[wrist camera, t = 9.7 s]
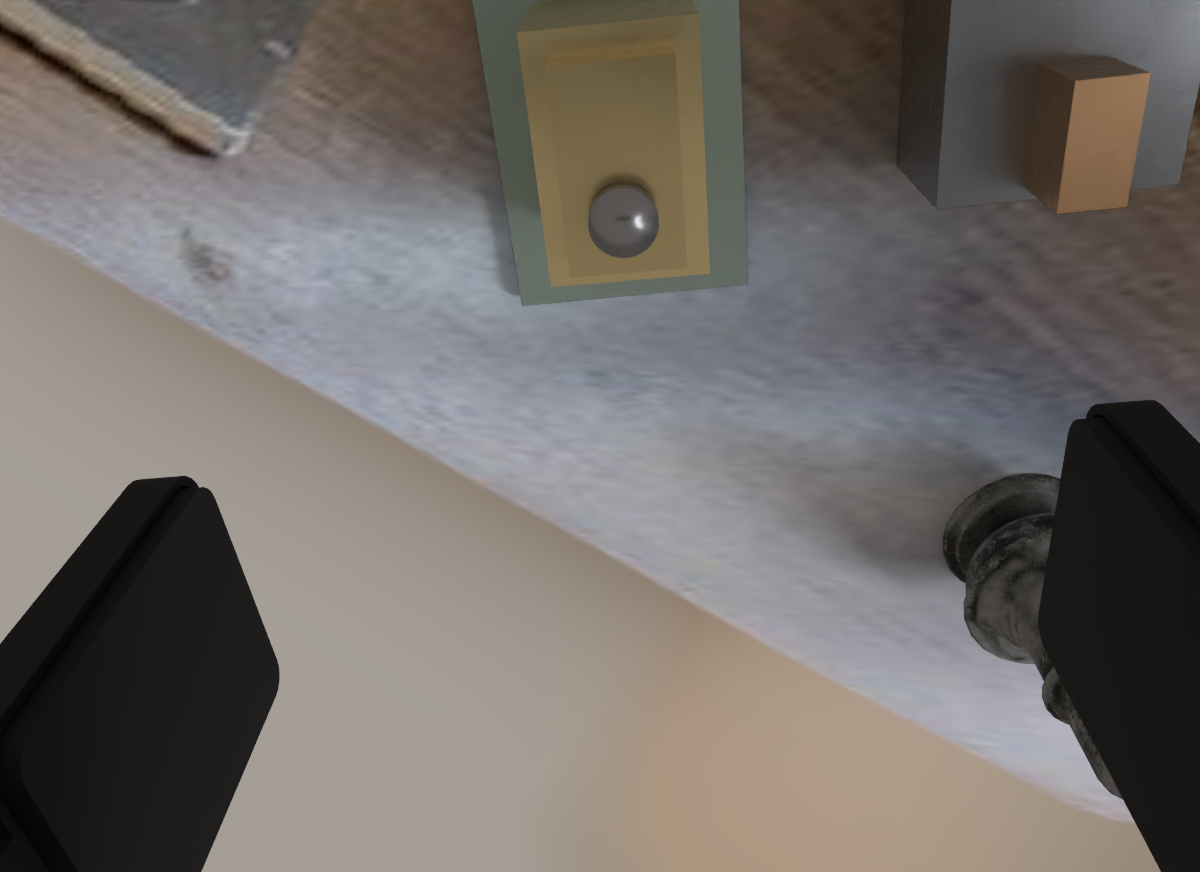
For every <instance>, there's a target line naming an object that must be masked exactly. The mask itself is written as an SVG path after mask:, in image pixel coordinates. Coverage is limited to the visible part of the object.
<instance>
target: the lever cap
mask: <svg viewBox="0 0 1200 872" xmlns="http://www.w3.org/2000/svg"><path fill="white" fill-rule="evenodd" d="M517 38H518V46H519V53H520V61H521V68H522V75H523V83H524V90H525V98H526V105H527V113H528V120H529V128H530V135H531V143H532V150H533V158H534V165H535V173H536V180H537V188H538V195H539V202H540V210H541V217H542V225H543V232H544V240H545V247H546V255H547V262H548V270H549V277H550V285H551V287H561V286H573V285H585V284H596V283H608V282H619V281H631V280H642V279H654V278H665V277H677V276H689V275H700V274H710V261H709V237H708V213H707V189H706V165H705V140H704V116H703V92H702V68H701V44H700V20H699V12H698V10H697V8H696V7H695V5H694V3H693V1H692V0H560V1H551V2H541V3H534V4H533V6H532V8H531V9H530V11H529V13H528V14H527V16H526V18H525V19H524V21H523V23H522V25H521V26H520V28H519V30H518V31H517Z"/></svg>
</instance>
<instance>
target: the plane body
mask: <svg viewBox="0 0 1200 872" xmlns="http://www.w3.org/2000/svg"><path fill="white" fill-rule="evenodd" d="M1199 84H1200V0H906V4H905V23H904V43H903V62H902V82H901V101H900V121H899V140H898V160H897V166H898V168H899V169H900V170H901V171H902V172H903V173H904V174H905V175H906V176H907V177H908V179H909V180H910V181H911V182H912V183H913V184H914V185H915V186H916V187H917V188H918V190H919V191H920V192H921V193H922V194H923V195H924V196H925V197H926V198H927V199H928V201H929V202H930V203H931V204H932V205H933V206H934V207H935V208H936V209H942V208H952V207H962V206H972V205H982V204H992V203H1002V202H1012V201H1022V200H1032V199H1039V200H1040V201H1041V202H1043V203H1044V204H1045V205H1046V206H1048V207H1049V208H1050V209H1051V210H1053V211H1054V212H1055V213H1056V214H1060V213H1070V212H1080V211H1091V210H1101V209H1111V208H1121V207H1127V204H1128V198H1129V192H1130V190H1133V189H1143V188H1153V187H1163V186H1173V185H1179V181H1180V176H1181V172H1182V167H1183V162H1184V157H1185V152H1186V147H1187V142H1188V138H1189V133H1190V128H1191V123H1192V118H1193V113H1194V108H1195V103H1196V99H1197V94H1198V89H1199Z"/></svg>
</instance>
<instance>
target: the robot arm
mask: <svg viewBox="0 0 1200 872" xmlns="http://www.w3.org/2000/svg"><path fill="white" fill-rule="evenodd" d="M1038 628H1039V634H1040V638H1041V642H1042V645H1043V647H1044V649H1045V651H1046V653H1047V655H1048V657H1049V659H1050V661H1051V663H1052V665H1053V667H1054V669H1055V670H1056V672H1057V674H1058V676H1059V678H1060V680H1061V682H1062V684H1063V686H1064V688H1065V690H1066V691H1067V693H1068V695H1069V697H1070V699H1071V701H1072V703H1073V705H1074V707H1075V709H1076V710H1077V712H1078V714H1079V716H1080V718H1081V720H1082V722H1083V724H1084V726H1085V728H1086V730H1087V731H1088V733H1089V735H1090V737H1091V739H1092V741H1093V743H1094V745H1095V747H1096V749H1097V750H1098V752H1099V754H1100V756H1101V758H1102V760H1103V762H1104V764H1105V766H1106V768H1107V770H1108V771H1109V773H1110V775H1111V777H1112V779H1113V781H1114V783H1115V785H1116V787H1117V789H1118V790H1119V792H1120V794H1121V796H1122V798H1123V800H1124V802H1125V804H1126V806H1127V808H1128V809H1129V811H1130V813H1131V815H1132V817H1133V819H1134V821H1135V823H1136V825H1137V827H1138V829H1139V830H1140V832H1141V834H1142V836H1143V838H1144V840H1145V842H1146V844H1147V845H1148V848H1149V849H1150V851H1151V853H1152V855H1153V857H1154V859H1155V861H1156V863H1157V864H1158V867H1159V868H1160V870H1161V872H1200V443H1199V442H1198V441H1197V440H1196V439H1195V438H1194V437H1193V436H1192V435H1191V434H1190V433H1189V432H1188V431H1187V430H1186V429H1185V428H1184V427H1183V426H1182V425H1181V424H1180V423H1179V422H1178V421H1177V420H1176V419H1175V418H1174V417H1173V416H1172V415H1171V414H1170V413H1169V412H1168V411H1167V410H1166V409H1165V408H1164V407H1163V406H1162V405H1161V404H1160V403H1158V402H1157V401H1155V400H1143V401H1130V402H1118V403H1105V404H1095V405H1094V406H1092V407H1091V408H1090V410H1089V411H1088V413H1087V415H1086V419H1077V420H1075V421H1073V423H1072V424H1071V426H1070V429H1069V433H1068V438H1067V444H1066V450H1065V456H1064V462H1063V468H1062V474H1061V480H1060V486H1059V492H1058V498H1057V504H1056V510H1055V516H1054V522H1053V528H1052V534H1051V540H1050V546H1049V552H1048V558H1047V564H1046V570H1045V576H1044V582H1043V588H1042V594H1041V600H1040V606H1039V612H1038ZM278 686H279V666H278V662H277V659H276V656H275V653H274V651H273V648H272V646H271V643H270V640H269V638H268V635H267V633H266V630H265V627H264V625H263V622H262V620H261V617H260V615H259V612H258V609H257V607H256V604H255V602H254V599H253V596H252V593H251V591H250V588H249V586H248V583H247V581H246V578H245V575H244V573H243V570H242V567H241V565H240V562H239V560H238V558H237V554H236V552H235V549H234V547H233V544H232V541H231V539H230V536H229V534H228V531H227V528H226V526H225V523H224V521H223V518H222V515H221V513H220V510H219V507H218V505H217V502H216V500H215V498H214V496H213V494H212V493H211V491H210V490H209V489H207V488H204V487H201V488H199V487H198V485H197V483H195V481H194V480H192V478H189V477H187V476H178V477H165V478H153V479H140V480H136V481H133V482H132V483H131V484H129V485H128V486H127V487H126V489H125V490H124V491H123V492H122V494H121V495H120V496H119V497H118V498H117V500H116V501H115V502H114V503H113V505H112V506H111V508H110V509H109V510H108V511H107V512H106V513H105V515H104V516H103V517H102V518H101V520H100V521H99V522H98V524H97V525H96V526H95V527H94V528H93V530H92V531H91V532H90V533H89V534H88V536H87V537H86V538H85V540H84V541H83V542H82V543H81V544H80V546H79V547H78V548H77V549H76V551H75V552H74V553H73V554H72V556H71V557H70V558H69V559H68V561H67V562H66V563H65V564H64V566H63V567H62V568H61V569H60V571H59V572H58V573H57V574H56V575H55V577H54V578H53V579H52V580H51V582H50V583H49V584H48V585H47V587H46V588H45V589H44V590H43V592H42V593H41V594H40V595H39V597H38V598H37V599H36V600H35V602H34V603H33V604H32V605H31V606H30V608H29V609H28V610H27V611H26V613H25V614H24V615H23V616H22V618H21V619H20V620H19V621H18V623H17V624H16V625H15V626H14V628H13V629H12V630H11V631H10V633H9V634H8V635H7V636H6V637H5V639H4V640H3V641H2V643H1V644H0V872H201V871H202V869H203V866H204V864H205V861H206V859H207V857H208V854H209V852H210V850H211V847H212V845H213V843H214V840H215V838H216V836H217V833H218V831H219V829H220V826H221V824H222V822H223V819H224V817H225V814H226V812H227V810H228V807H229V805H230V803H231V800H232V798H233V796H234V793H235V791H236V789H237V786H238V783H239V782H240V779H241V777H242V775H243V772H244V770H245V767H246V765H247V763H248V760H249V758H250V756H251V753H252V751H253V749H254V746H255V744H256V741H257V739H258V736H259V735H260V732H261V730H262V727H263V725H264V723H265V720H266V718H267V716H268V713H269V711H270V709H271V706H272V704H273V701H274V699H275V697H276V694H277V691H278Z"/></svg>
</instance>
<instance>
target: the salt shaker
mask: <svg viewBox="0 0 1200 872" xmlns="http://www.w3.org/2000/svg"><path fill="white" fill-rule="evenodd" d="M1060 480H1061V479H1058V478H1055V477H1051V476H1048V475H1031V474H1026V475H1020V476H1014V477H1008V478H1005V479H1002V480H999V481H997V482H994V483H991V484H989V485H987V486H985V487H983V488H982V489H980V490H979V491H977V492H975V493H974V494H972V495H971V496H969V497H968V498H967V499H966V500H965V501H964V502H963V503H962V504H961V505H960V506H959V507H958V508H957V509H956V511H955V512H954V514H953V516H952V517H951V519H950V520H949V522H948V523H947V526H946V530H945V533H944V537H943V552H944V556H945V558H946V561H947V563H948V565H949V568H950V569H951V571H952V572H953V573H954V574H955V575H956V576H957V577H958V578H959V579H960V580H961V581H963V582H965V583H966V597H965V600H964V620H965V622H966V624H967V627H968V629H969V631H970V634H971V636H972V637H973V638H974V639H975V640H976V641H977V643H978V644H979V645H980V646H981V647H982V648H983V649H985V650H986V651H988V652H990V653H992V654H994V655H996V656H997V657H999V658H1002V659H1006V660H1010V661H1014V662H1018V663H1026V664H1035V665H1036V667H1037V669H1038V670H1039V672H1040V674H1041V676H1042V678H1043V680H1044V684H1043V686H1042V699H1043V701H1044V704H1045V707H1046V709H1047V710H1048V711H1049V712H1050V713H1051V714H1052V715H1053V717H1054V718H1056V719H1058V720H1060V721H1062V722H1064V723H1066V724H1069V725H1070V726H1071V728H1072V730H1073V732H1074V734H1075V736H1076V738H1077V740H1078V742H1079V744H1080V746H1081V748H1082V750H1083V751H1084V753H1085V755H1086V757H1087V759H1088V761H1089V763H1090V765H1091V767H1092V769H1093V771H1094V773H1095V774H1096V776H1097V778H1098V780H1099V781H1100V782H1101V783H1102V784H1103V786H1104V787H1105V788H1106V789H1107V790H1108V791H1109V792H1110V793H1111V794H1113V795H1115V796H1117V797H1119V798H1121V799H1123V798H1122V796H1121V794H1120V792H1119V790H1118V789H1117V787H1116V785H1115V783H1114V781H1113V779H1112V777H1111V775H1110V773H1109V771H1108V770H1107V768H1106V766H1105V764H1104V762H1103V760H1102V758H1101V756H1100V754H1099V752H1098V750H1097V749H1096V747H1095V745H1094V743H1093V741H1092V739H1091V737H1090V735H1089V733H1088V731H1087V730H1086V728H1085V726H1084V724H1083V722H1082V720H1081V718H1080V716H1079V714H1078V712H1077V710H1076V709H1075V707H1074V705H1073V703H1072V701H1071V699H1070V697H1069V695H1068V693H1067V691H1066V690H1065V688H1064V686H1063V684H1062V682H1061V680H1060V678H1059V676H1058V674H1057V672H1056V670H1055V669H1054V667H1053V665H1052V663H1051V661H1050V659H1049V657H1048V655H1047V653H1046V651H1045V649H1044V647H1043V645H1042V642H1041V638H1040V634H1039V628H1038V612H1039V606H1040V600H1041V594H1042V588H1043V582H1044V576H1045V570H1046V564H1047V558H1048V552H1049V546H1050V540H1051V534H1052V528H1053V522H1054V516H1055V510H1056V504H1057V498H1058V492H1059V486H1060Z"/></svg>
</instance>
